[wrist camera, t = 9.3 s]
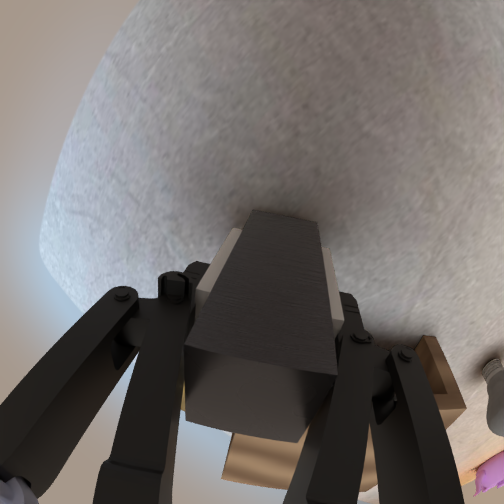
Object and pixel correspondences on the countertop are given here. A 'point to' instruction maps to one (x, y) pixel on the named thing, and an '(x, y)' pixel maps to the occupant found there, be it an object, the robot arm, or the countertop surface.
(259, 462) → the shelf
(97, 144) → the countertop surface
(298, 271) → the l-shaped hook tool
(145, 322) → the robot arm
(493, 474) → the teapot
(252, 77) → the countertop surface
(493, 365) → the light bulb
